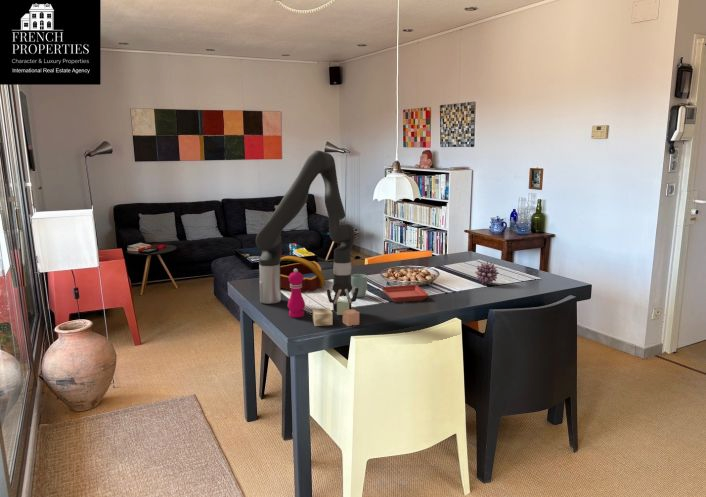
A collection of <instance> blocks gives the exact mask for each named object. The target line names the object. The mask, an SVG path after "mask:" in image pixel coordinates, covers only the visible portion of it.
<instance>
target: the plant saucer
mask: <svg viewBox="0 0 706 497" xmlns="http://www.w3.org/2000/svg"><path fill="white" fill-rule="evenodd" d="M380 289H381V290H382V291H383V293H384V294H385V295H386V296H387V297H388V298H389V299H390V300H391V301H392V302H393V303H399V302H401V303H402V302H413V301H414V302H415V301H417V302H418V301H424V300H425V299H427V298H428V296H430V294H428V292H426V291H424V290H423V289H422V288H421V287H419V286H418V285H417V284H408V285H396V286H395V285H394V286H382V287H380Z"/></svg>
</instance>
